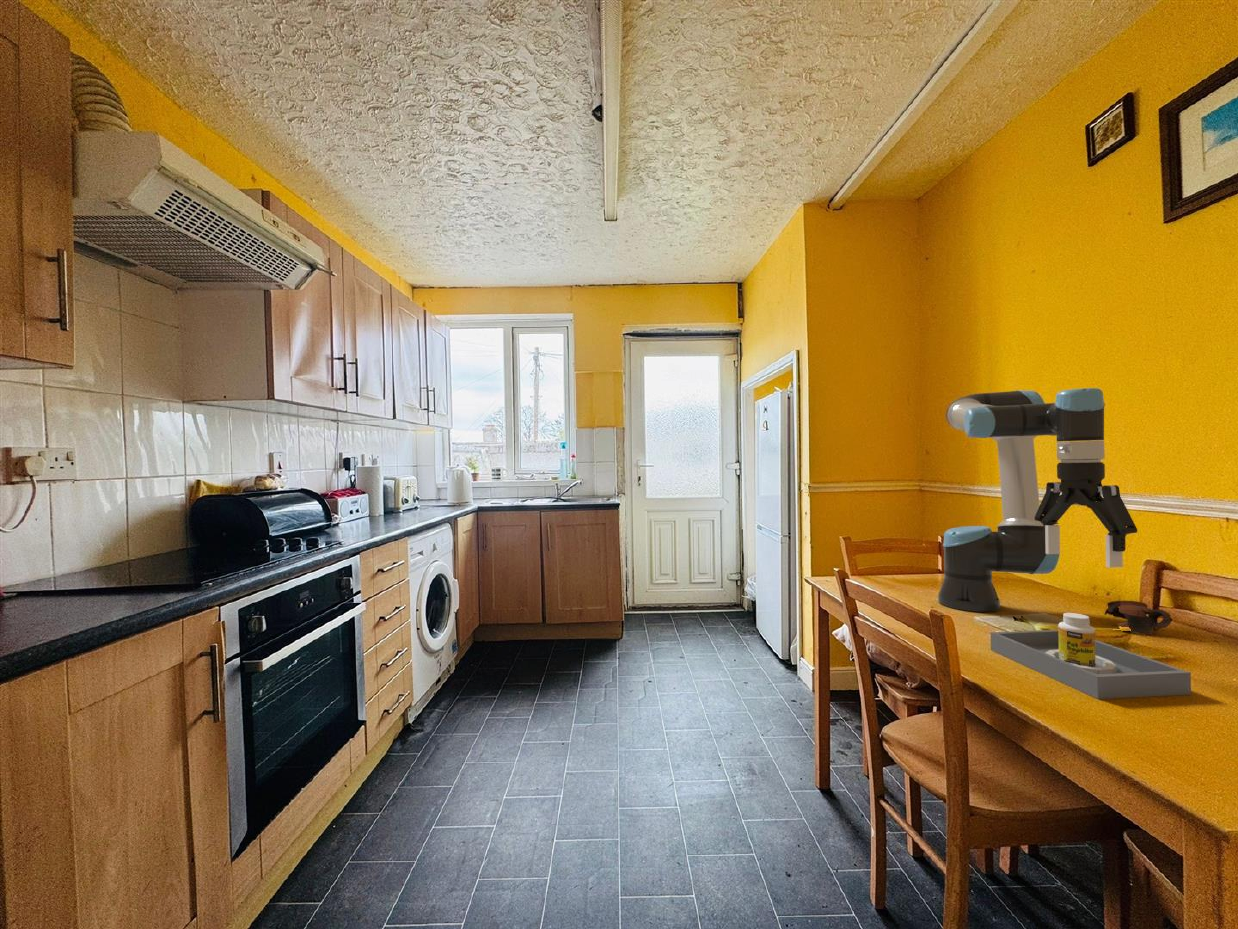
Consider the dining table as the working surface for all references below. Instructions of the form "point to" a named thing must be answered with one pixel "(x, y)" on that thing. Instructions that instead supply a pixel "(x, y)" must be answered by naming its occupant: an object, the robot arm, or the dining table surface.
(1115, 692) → the grey tray
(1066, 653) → the supplement bottle
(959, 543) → the robot arm
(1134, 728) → the dining table surface
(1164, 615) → the pottery mug
